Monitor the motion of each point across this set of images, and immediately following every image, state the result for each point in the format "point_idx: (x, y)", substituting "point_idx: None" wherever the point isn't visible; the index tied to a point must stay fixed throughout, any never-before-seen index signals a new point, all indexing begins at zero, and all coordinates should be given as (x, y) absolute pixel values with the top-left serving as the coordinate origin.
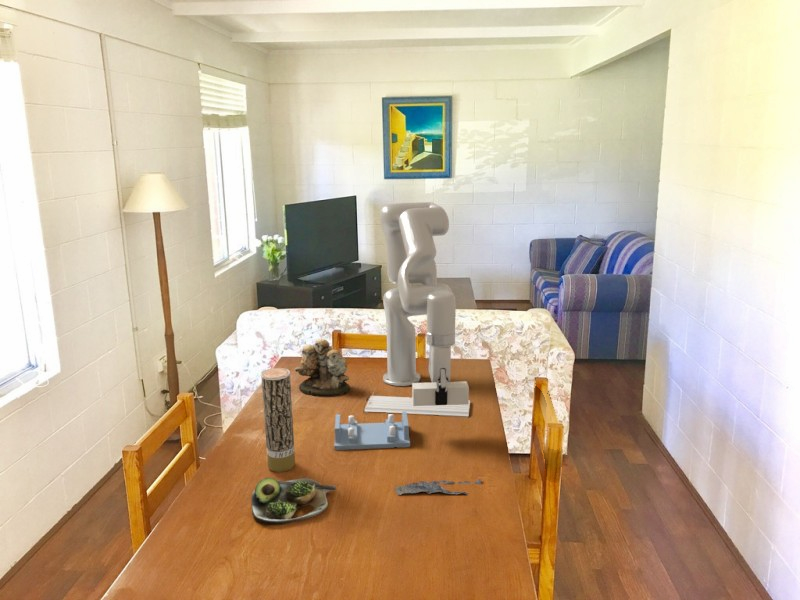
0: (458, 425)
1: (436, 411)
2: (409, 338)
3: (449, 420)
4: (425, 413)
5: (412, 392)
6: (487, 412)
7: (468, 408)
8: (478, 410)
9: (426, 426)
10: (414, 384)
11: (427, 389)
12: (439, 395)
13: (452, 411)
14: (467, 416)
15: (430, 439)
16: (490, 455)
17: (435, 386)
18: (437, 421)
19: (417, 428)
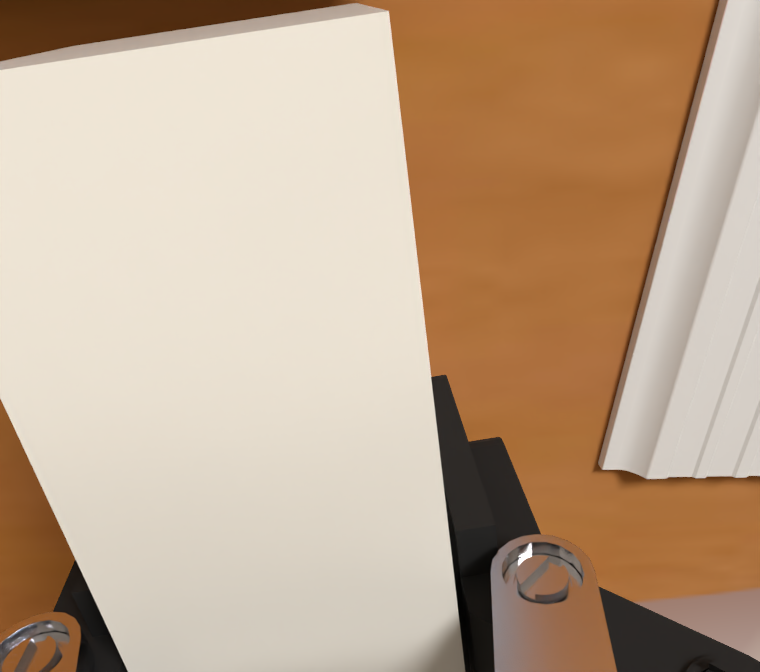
0: (460, 405)
1: (713, 232)
2: None
3: (556, 337)
4: (706, 125)
5: (259, 22)
6: (661, 566)
7: (717, 471)
8: (703, 516)
9: (443, 146)
10: (265, 108)
11: (46, 473)
12: (66, 603)
13: (680, 366)
14: (603, 461)
15: None
16: (4, 608)
17: (220, 624)
18: (543, 241)
19: (397, 56)
